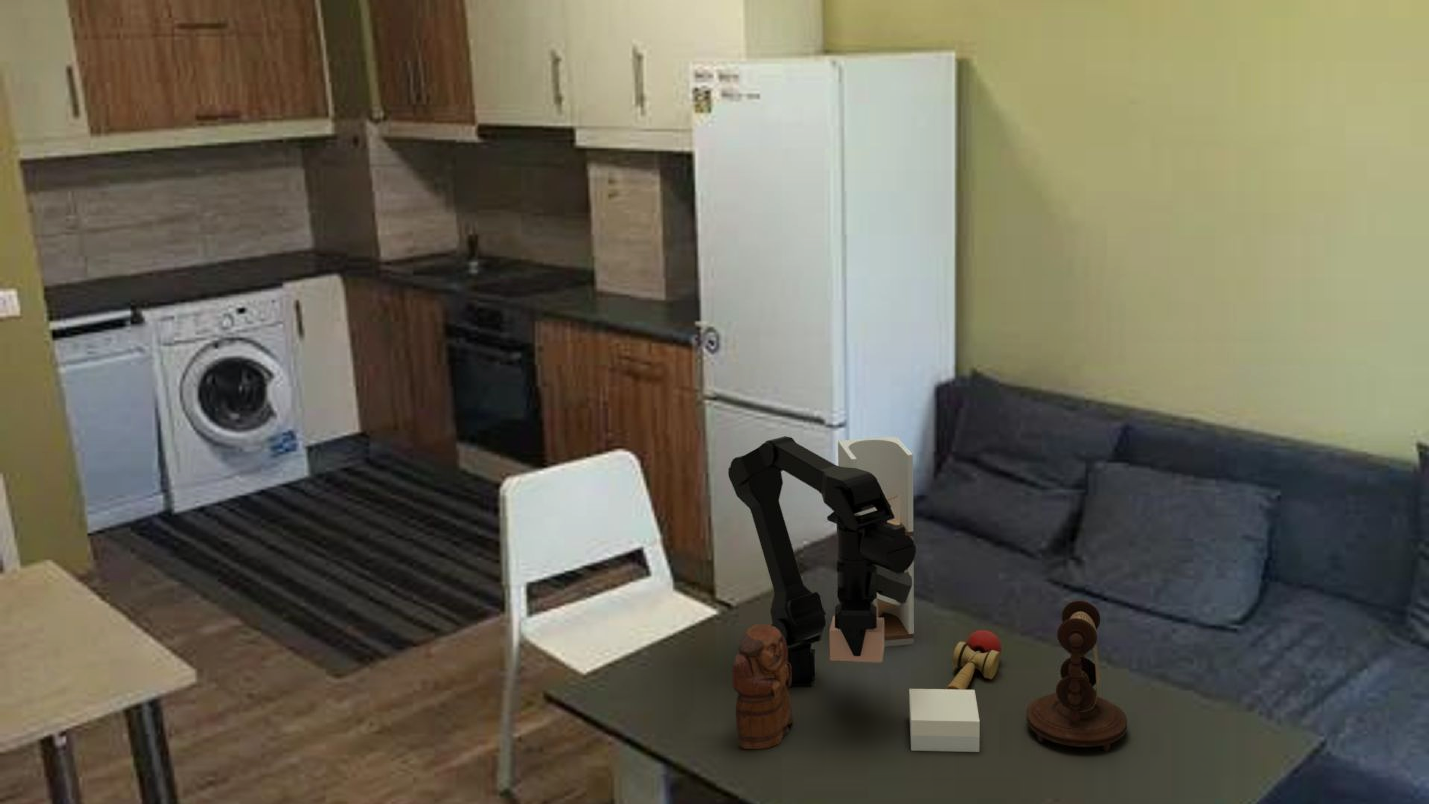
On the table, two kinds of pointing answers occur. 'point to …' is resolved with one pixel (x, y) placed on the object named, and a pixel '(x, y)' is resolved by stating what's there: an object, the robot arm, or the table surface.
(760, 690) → the wooden figurine
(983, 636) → the kendama
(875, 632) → the coral brick
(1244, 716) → the table surface
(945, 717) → the white foam block
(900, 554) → the robot arm
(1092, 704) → the brown upright round-based piece
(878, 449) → the white shelf stand
